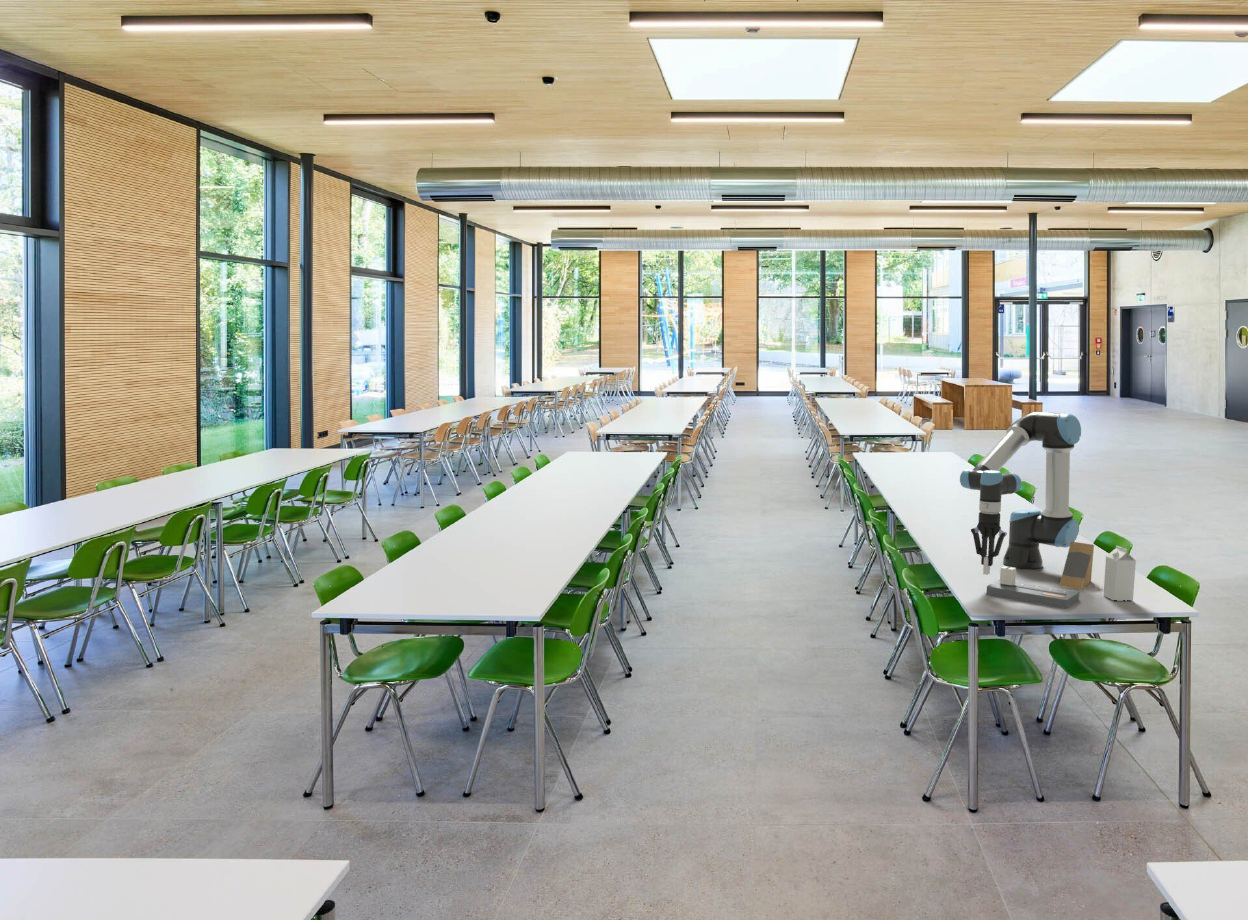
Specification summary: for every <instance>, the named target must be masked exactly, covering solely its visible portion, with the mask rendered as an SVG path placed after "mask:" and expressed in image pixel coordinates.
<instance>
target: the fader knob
mask: <svg viewBox="0 0 1248 920" xmlns="http://www.w3.org/2000/svg"><path fill="white" fill-rule="evenodd" d="M999 571H1000V573H999V580H1000V584H1005V585H1011V586H1012V585H1014V584H1015V582H1016V579H1017V578H1016V577H1017V568H1015V567H1010V566H1007V565H1003V566H1002V567H1000V570H999Z"/></svg>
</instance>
